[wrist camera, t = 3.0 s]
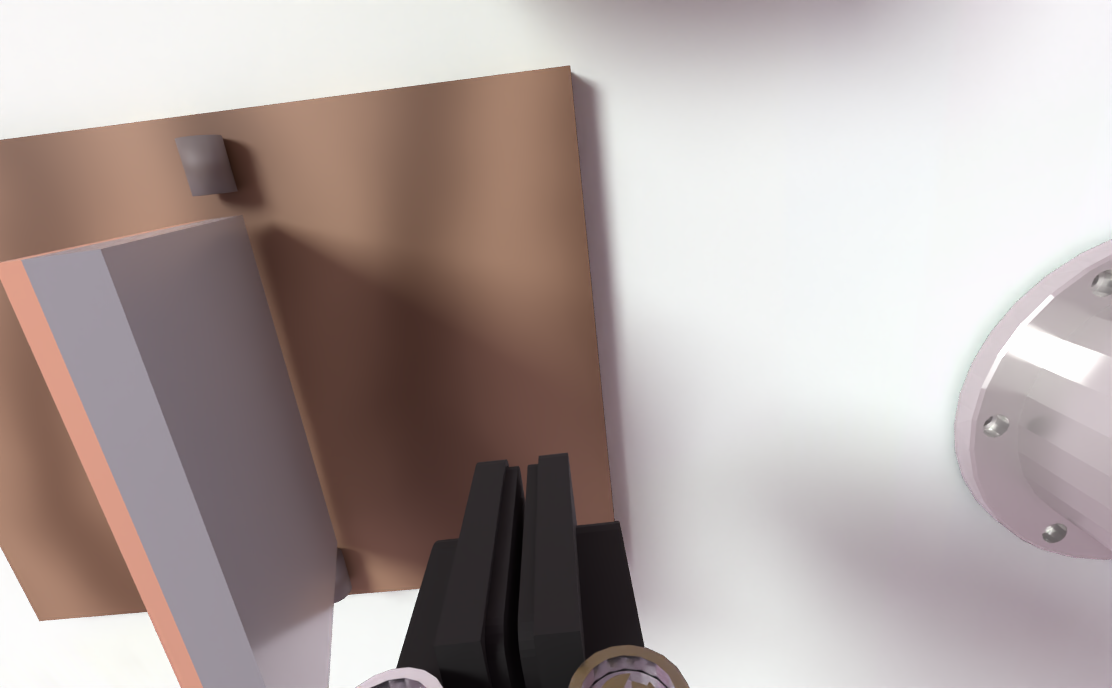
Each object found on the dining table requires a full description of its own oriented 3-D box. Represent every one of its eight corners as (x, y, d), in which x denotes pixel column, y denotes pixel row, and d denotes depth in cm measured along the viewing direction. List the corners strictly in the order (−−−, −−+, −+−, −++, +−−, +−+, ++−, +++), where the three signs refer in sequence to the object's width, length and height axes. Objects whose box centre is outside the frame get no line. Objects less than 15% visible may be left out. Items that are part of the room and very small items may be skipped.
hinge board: (569, 70, 17) (570, 58, 15) (617, 554, 22) (622, 594, 20) (-159, 165, 18) (-255, 166, 16) (60, 602, 24) (11, 645, 21)
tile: (100, 249, 7) (-9, 263, 7) (319, 830, 11) (256, 857, 11) (242, 214, 17) (197, 220, 16) (337, 542, 20) (303, 552, 20)
